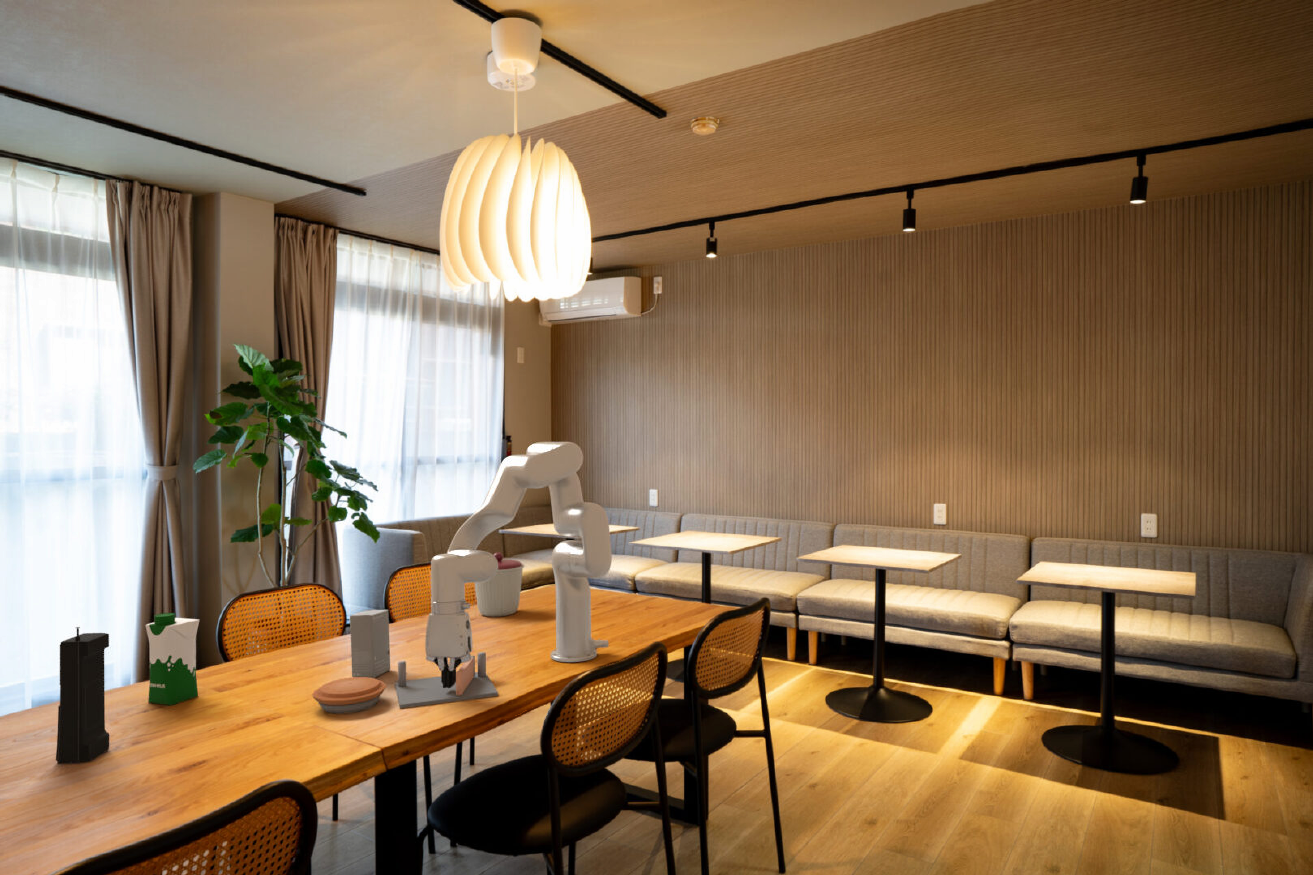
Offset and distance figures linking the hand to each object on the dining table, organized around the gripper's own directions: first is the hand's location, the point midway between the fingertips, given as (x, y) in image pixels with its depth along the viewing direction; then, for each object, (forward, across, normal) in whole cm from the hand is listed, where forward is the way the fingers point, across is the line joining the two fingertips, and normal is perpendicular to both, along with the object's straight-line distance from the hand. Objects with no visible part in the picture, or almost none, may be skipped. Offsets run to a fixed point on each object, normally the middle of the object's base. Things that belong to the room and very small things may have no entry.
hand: (448, 686), depth 182 cm
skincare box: (+2, +27, -14) cm, 31 cm away
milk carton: (+2, +63, +10) cm, 64 cm away
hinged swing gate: (+2, +2, -3) cm, 4 cm away
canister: (+2, +19, -86) cm, 88 cm away
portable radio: (+2, +54, +42) cm, 69 cm away
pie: (+2, +19, +9) cm, 22 cm away
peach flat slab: (+1, -3, -4) cm, 5 cm away
